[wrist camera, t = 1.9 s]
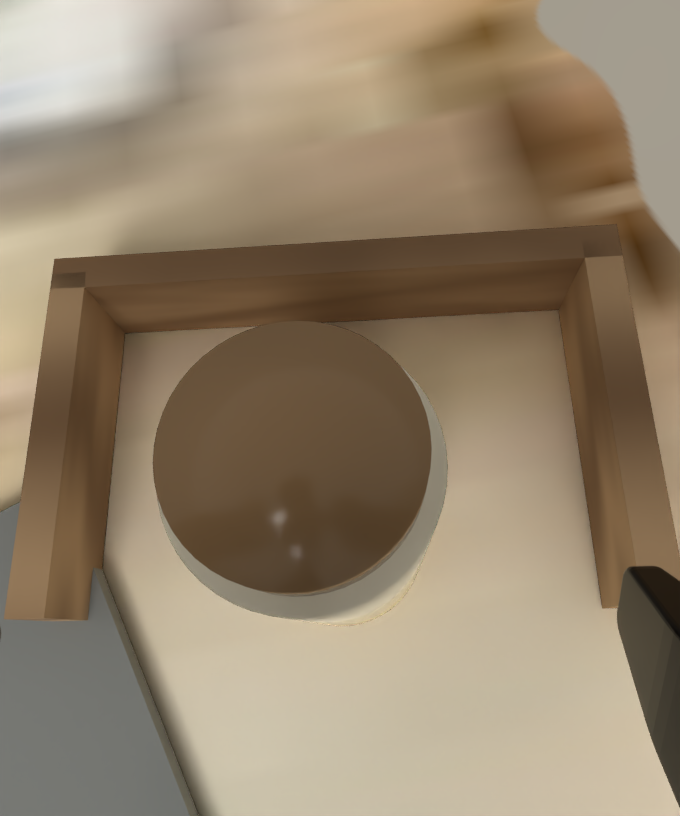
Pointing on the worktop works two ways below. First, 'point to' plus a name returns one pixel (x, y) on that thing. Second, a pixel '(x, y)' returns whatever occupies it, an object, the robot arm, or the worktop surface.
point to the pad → (79, 715)
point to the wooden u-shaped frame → (332, 302)
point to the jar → (301, 473)
